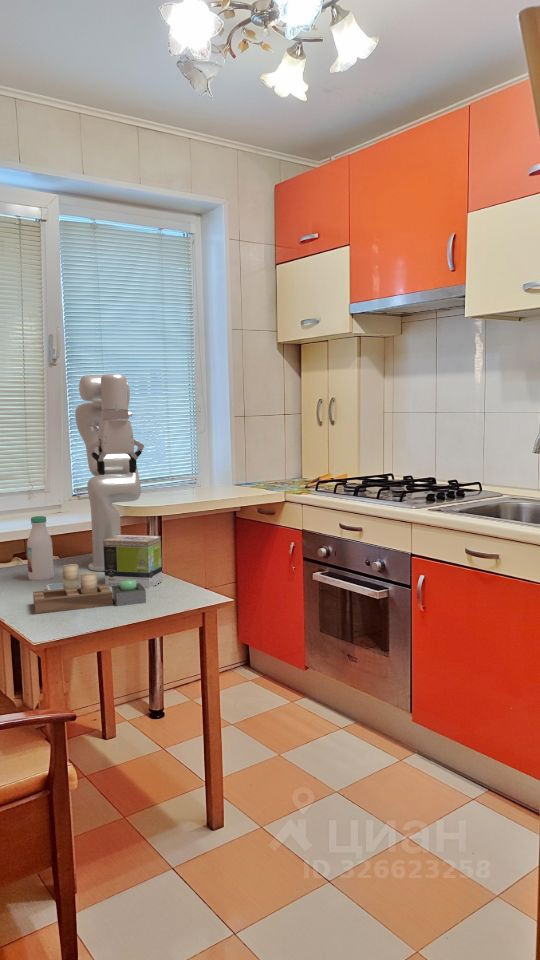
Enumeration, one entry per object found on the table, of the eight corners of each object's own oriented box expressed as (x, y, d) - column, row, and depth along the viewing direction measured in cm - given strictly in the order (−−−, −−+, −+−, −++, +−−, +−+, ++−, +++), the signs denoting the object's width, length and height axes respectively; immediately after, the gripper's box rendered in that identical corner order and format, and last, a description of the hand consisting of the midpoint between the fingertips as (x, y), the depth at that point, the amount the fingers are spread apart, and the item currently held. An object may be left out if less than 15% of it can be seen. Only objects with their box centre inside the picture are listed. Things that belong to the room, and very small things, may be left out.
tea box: (163, 581, 219) (161, 535, 217) (149, 590, 209) (147, 541, 207) (119, 579, 223) (117, 533, 221) (103, 587, 213) (102, 539, 211)
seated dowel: (80, 601, 196) (79, 573, 195) (96, 599, 197) (95, 572, 196) (82, 605, 192) (81, 577, 191) (98, 604, 193) (97, 575, 192)
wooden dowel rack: (33, 605, 194) (33, 591, 193) (107, 597, 201) (106, 584, 201) (35, 615, 185) (35, 601, 184) (112, 607, 192) (112, 592, 191)
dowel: (63, 591, 206) (61, 564, 206) (78, 589, 208) (77, 563, 207) (64, 595, 202) (63, 568, 201) (80, 593, 204) (79, 566, 203)
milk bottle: (57, 575, 227) (55, 514, 225) (47, 581, 220) (45, 518, 218) (34, 575, 228) (31, 514, 226) (24, 581, 221) (21, 518, 218)
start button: (119, 590, 197) (118, 580, 197) (134, 588, 199) (134, 578, 199) (122, 594, 193) (121, 583, 193) (137, 592, 195) (137, 582, 195)
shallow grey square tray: (46, 591, 209) (46, 584, 209) (91, 586, 214) (91, 580, 213) (50, 602, 197) (49, 595, 197) (97, 597, 202) (97, 590, 201)
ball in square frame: (112, 600, 199) (111, 586, 198) (140, 596, 202) (139, 583, 201) (116, 607, 191) (116, 593, 191) (146, 604, 194) (145, 590, 194)
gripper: (137, 416, 216) (139, 471, 217) (82, 416, 206) (84, 474, 208) (147, 415, 209) (149, 472, 211) (91, 416, 200) (93, 476, 201)
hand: (117, 473), depth 209 cm, fingers open, 9 cm apart
